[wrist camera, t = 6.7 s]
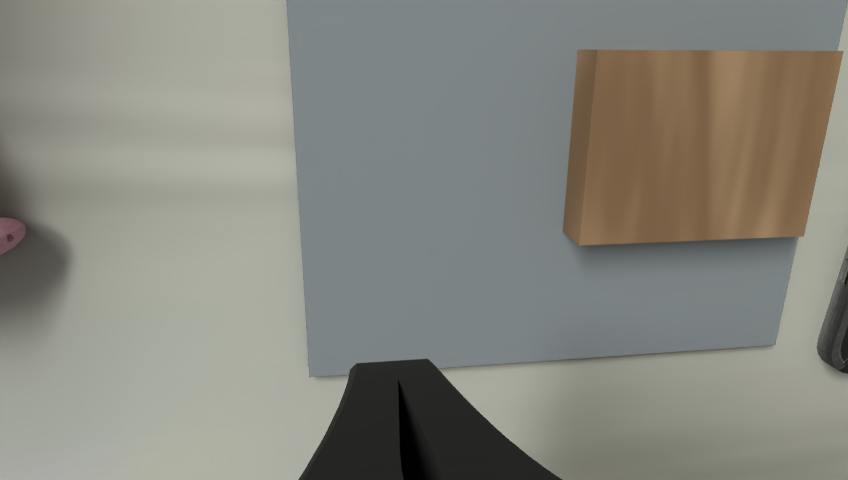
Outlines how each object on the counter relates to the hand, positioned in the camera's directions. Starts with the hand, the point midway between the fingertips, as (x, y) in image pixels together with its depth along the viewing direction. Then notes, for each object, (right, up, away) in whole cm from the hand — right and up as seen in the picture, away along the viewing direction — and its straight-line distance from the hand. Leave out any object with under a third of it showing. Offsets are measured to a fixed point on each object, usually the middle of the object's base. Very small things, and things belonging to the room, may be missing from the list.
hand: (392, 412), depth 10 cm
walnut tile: (+5, +6, +9) cm, 12 cm away
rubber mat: (+5, +6, +10) cm, 13 cm away
